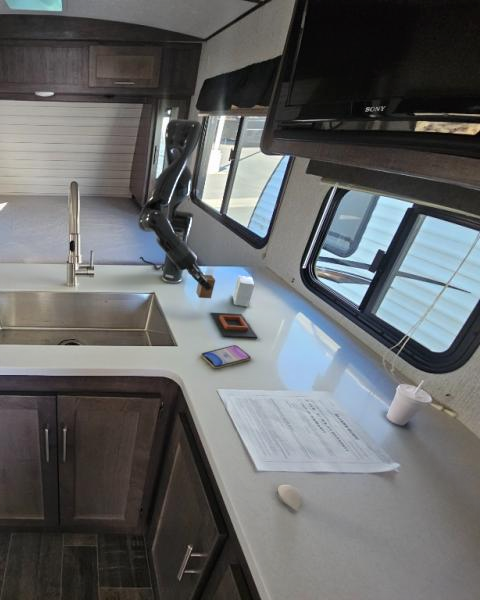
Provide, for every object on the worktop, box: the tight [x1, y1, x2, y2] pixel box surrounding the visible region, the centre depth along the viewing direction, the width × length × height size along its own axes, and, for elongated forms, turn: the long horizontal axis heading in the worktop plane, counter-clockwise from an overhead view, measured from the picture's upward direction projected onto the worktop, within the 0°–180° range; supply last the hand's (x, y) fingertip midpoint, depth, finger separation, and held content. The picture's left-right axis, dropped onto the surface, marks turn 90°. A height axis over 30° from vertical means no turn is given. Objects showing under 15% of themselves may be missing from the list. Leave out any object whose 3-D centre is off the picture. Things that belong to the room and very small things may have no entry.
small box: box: [232, 275, 255, 307], centre depth 137 cm, size 8×6×10 cm
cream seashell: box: [276, 483, 302, 512], centre depth 65 cm, size 4×5×2 cm
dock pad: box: [210, 312, 258, 340], centre depth 122 cm, size 16×12×2 cm
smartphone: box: [200, 344, 252, 369], centre depth 105 cm, size 8×15×1 cm, turn 110°
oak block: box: [196, 274, 216, 299], centre depth 120 cm, size 4×4×8 cm
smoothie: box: [386, 379, 433, 426], centre depth 81 cm, size 6×6×14 cm
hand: (207, 285), depth 120 cm, fingers closed on oak block, 4 cm apart
